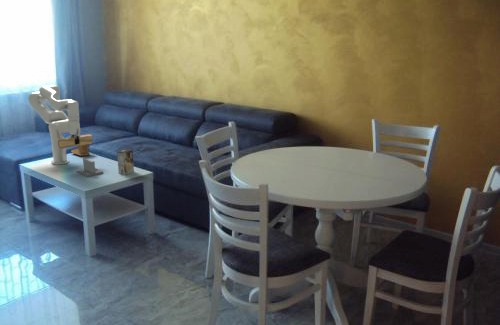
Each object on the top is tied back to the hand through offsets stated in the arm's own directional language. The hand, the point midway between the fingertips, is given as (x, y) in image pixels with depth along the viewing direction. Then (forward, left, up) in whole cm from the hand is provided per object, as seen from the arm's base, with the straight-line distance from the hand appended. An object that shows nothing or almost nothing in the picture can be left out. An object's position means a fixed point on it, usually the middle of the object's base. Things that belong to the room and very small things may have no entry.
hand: (75, 143), depth 342 cm
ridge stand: (+17, 0, -19) cm, 25 cm away
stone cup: (-32, +20, -19) cm, 42 cm away
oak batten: (0, 0, -2) cm, 2 cm away
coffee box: (+34, +19, -19) cm, 44 cm away
